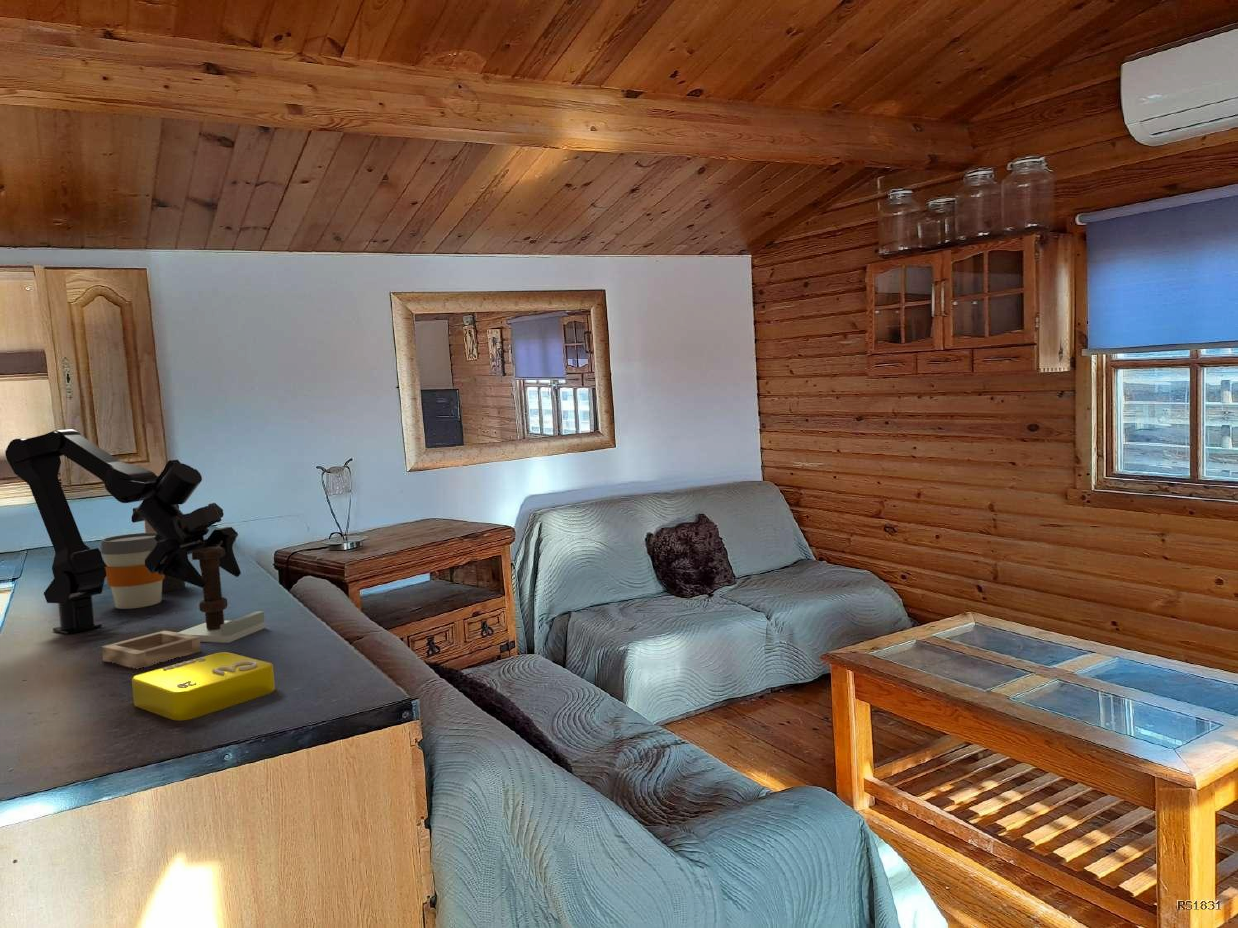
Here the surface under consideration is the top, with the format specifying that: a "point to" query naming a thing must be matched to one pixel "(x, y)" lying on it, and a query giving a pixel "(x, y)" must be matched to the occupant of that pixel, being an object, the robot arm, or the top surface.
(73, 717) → the top surface
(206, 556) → the bolt
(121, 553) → the reusable coffee cup
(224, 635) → the pale green ledge plate
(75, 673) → the top surface
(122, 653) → the socket
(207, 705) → the element tile
